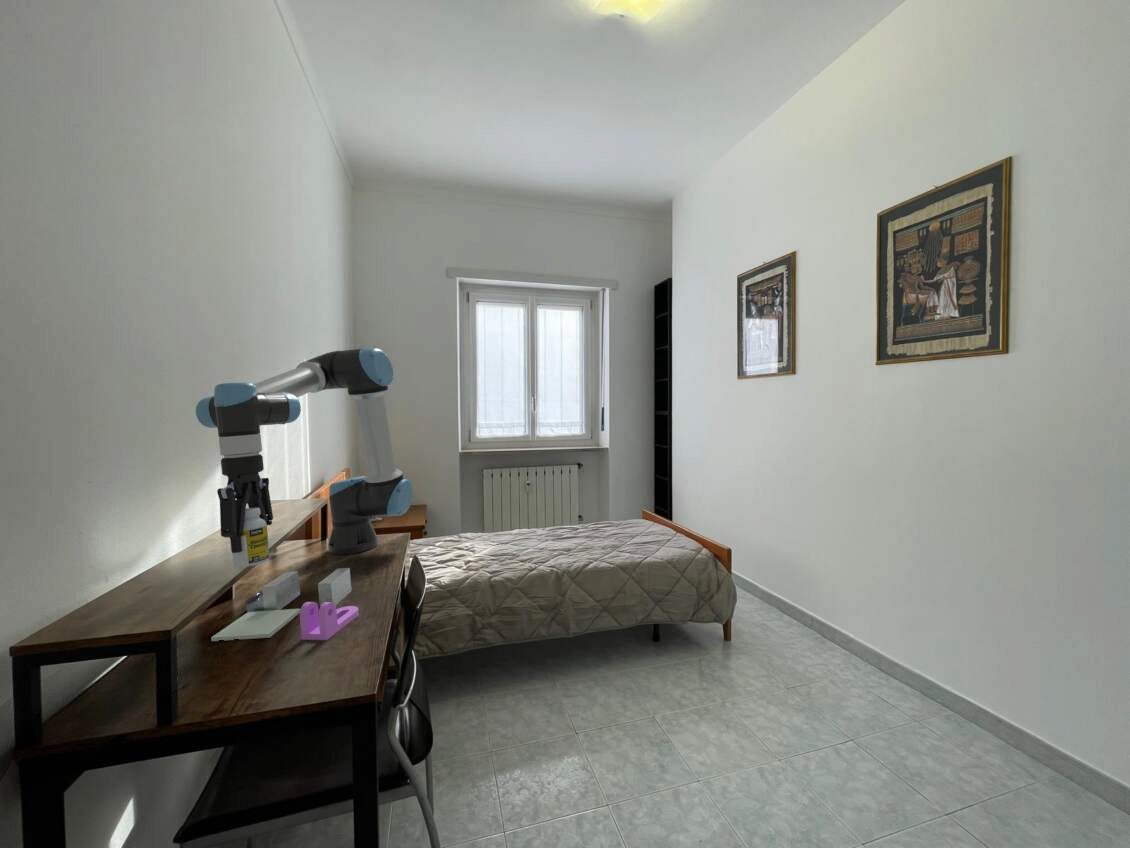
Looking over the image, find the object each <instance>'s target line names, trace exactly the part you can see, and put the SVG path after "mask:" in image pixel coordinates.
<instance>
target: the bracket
mask: <svg viewBox="0 0 1130 848" xmlns="http://www.w3.org/2000/svg"><path fill="white" fill-rule="evenodd" d="M300 609H301V610H300V613H299V620H300V623H299V624H300V632H301V640H303V641H304V640H305V641H306V640H307V641H328V640H329V639H330V638H332V637H333V636H334V635H335V634H337V633H338V632H339V631H340V630H342V629H344V627H346V626H347V625H348V624H349V623H351V622H352V621H354V620H355V619H357V617H358V616H359V607H358V606H356V605H355V606H354V605H347V606H341V607H339V608H337V605H335V603H333V602H325V603H323V604H322V605H321V606H320V605H318V603H317V602H315V601H306V602H304V603H303V604H302V606H301V608H300Z"/></svg>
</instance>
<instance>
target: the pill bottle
mask: <svg viewBox="0 0 1130 848" xmlns="http://www.w3.org/2000/svg"><path fill="white" fill-rule="evenodd" d="M260 513H261V512H260V508H249V507H246V510H245V519H244V528H243V535H246V540H247V551H248V561H249V566H247V567H246V568H248V567H254V566H258V565H260V564H264V563H266V562H267V561H269V560H270V549H269V538H268V537H269V535H267V533H268V525H266V521H265V520H264V519H261V518H260V517H259V515H260Z"/></svg>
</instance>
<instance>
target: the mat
mask: <svg viewBox="0 0 1130 848" xmlns="http://www.w3.org/2000/svg"><path fill="white" fill-rule="evenodd" d="M300 610H301V608H290V609H289V608H288V609H287V608H286V609H280V610H271V611H255V612H248V613H247V612H246V613H245V614H243V615H242V616H240V617H238V618H237V619H236V620H234V621H233V622H232V623H230V624H229V625H227V626H226V627H224V628H223V629H222V630H220V631H219V632H217V633H216V634H214V635H213V636H211V639H210V640H211V642H220V641H219V640H224V641H235V640H234V639H239V640H250V639H251V640H252V639H266V638H268V639H269V638H271V637H272V636H274V635H275V634H276V633H277V632H279V631H280V630H281V629H282V628H284V626H286V625H287V624H288V623H289V622H291V621H292V620H293V619H294V618H295V617H296V616H298V615H300Z"/></svg>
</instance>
